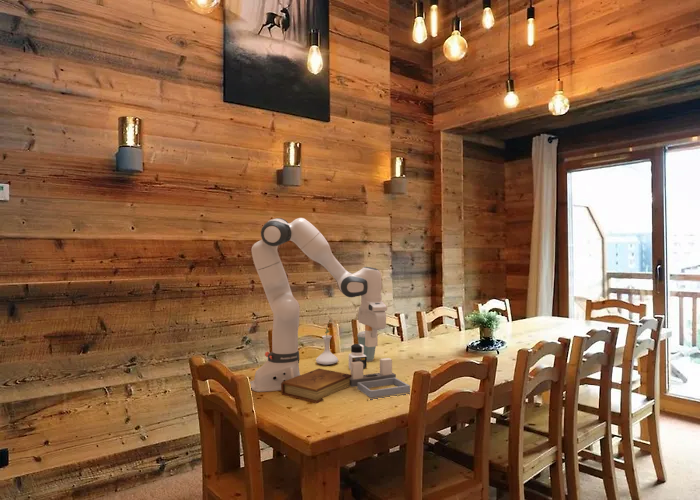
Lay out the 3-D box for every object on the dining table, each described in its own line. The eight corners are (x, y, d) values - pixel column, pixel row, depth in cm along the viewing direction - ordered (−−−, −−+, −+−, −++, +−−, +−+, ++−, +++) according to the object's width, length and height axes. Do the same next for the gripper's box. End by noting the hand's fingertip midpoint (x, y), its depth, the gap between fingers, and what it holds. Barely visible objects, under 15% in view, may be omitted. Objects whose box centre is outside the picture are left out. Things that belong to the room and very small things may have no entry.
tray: (370, 400, 189) (370, 391, 189) (357, 391, 201) (357, 382, 200) (409, 394, 196) (409, 385, 196) (394, 385, 208) (394, 377, 207)
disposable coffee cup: (353, 361, 249) (353, 332, 249) (362, 356, 259) (362, 328, 258) (372, 363, 244) (372, 333, 244) (381, 358, 254) (381, 330, 253)
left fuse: (353, 385, 206) (353, 363, 205) (350, 383, 208) (350, 362, 208) (363, 383, 207) (363, 362, 207) (360, 381, 210) (360, 361, 210)
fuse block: (351, 389, 203) (351, 381, 203) (345, 384, 209) (344, 376, 209) (397, 382, 212) (397, 374, 212) (390, 378, 218) (390, 370, 218)
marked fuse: (368, 347, 208) (368, 326, 208) (365, 345, 211) (365, 325, 210) (377, 346, 210) (377, 325, 210) (374, 344, 213) (374, 324, 212)
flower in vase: (335, 367, 238) (335, 316, 238) (313, 365, 241) (312, 315, 240) (341, 360, 251) (341, 312, 250) (319, 359, 253) (319, 311, 253)
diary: (317, 381, 216) (317, 368, 216) (351, 388, 205) (351, 374, 205) (281, 395, 197) (281, 380, 197) (316, 403, 186) (316, 388, 186)
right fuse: (382, 381, 211) (382, 360, 211) (379, 379, 214) (379, 358, 214) (392, 379, 213) (392, 359, 213) (388, 378, 216) (388, 357, 215)
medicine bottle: (352, 372, 229) (352, 346, 229) (348, 368, 236) (348, 343, 236) (366, 370, 231) (366, 345, 231) (362, 367, 238) (362, 342, 238)
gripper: (354, 301, 218) (354, 332, 218) (375, 308, 199) (375, 341, 200) (367, 301, 221) (367, 331, 221) (388, 307, 202) (388, 340, 202)
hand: (371, 336), depth 210 cm, fingers closed on marked fuse, 3 cm apart
